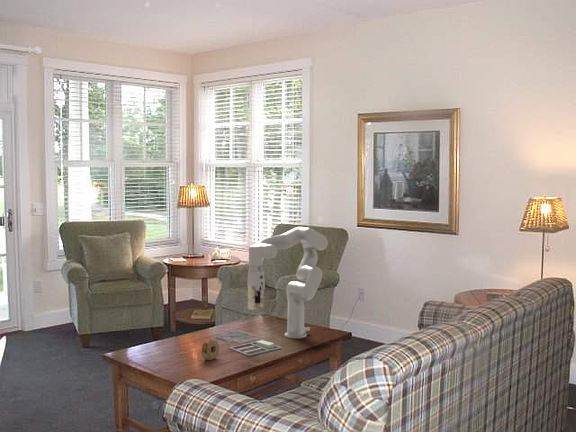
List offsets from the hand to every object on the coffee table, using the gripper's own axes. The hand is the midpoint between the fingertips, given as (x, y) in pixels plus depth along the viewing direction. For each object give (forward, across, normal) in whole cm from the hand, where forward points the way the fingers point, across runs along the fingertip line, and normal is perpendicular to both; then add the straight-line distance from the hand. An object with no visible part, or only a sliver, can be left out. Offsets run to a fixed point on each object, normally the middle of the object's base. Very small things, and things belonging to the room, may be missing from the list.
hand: (255, 302), depth 336 cm
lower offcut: (+25, -7, -1) cm, 26 cm away
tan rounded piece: (+24, -4, +31) cm, 40 cm away
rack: (+24, -7, +5) cm, 26 cm away
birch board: (+3, 0, 0) cm, 3 cm away
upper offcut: (+23, -7, -2) cm, 24 cm away
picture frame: (+25, +17, -2) cm, 31 cm away
